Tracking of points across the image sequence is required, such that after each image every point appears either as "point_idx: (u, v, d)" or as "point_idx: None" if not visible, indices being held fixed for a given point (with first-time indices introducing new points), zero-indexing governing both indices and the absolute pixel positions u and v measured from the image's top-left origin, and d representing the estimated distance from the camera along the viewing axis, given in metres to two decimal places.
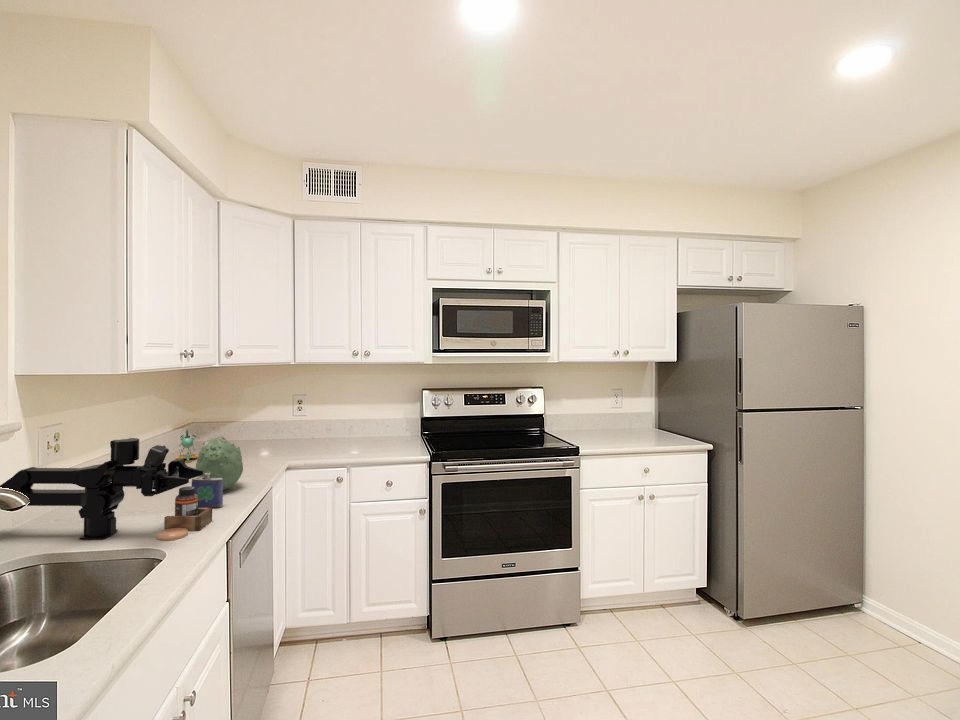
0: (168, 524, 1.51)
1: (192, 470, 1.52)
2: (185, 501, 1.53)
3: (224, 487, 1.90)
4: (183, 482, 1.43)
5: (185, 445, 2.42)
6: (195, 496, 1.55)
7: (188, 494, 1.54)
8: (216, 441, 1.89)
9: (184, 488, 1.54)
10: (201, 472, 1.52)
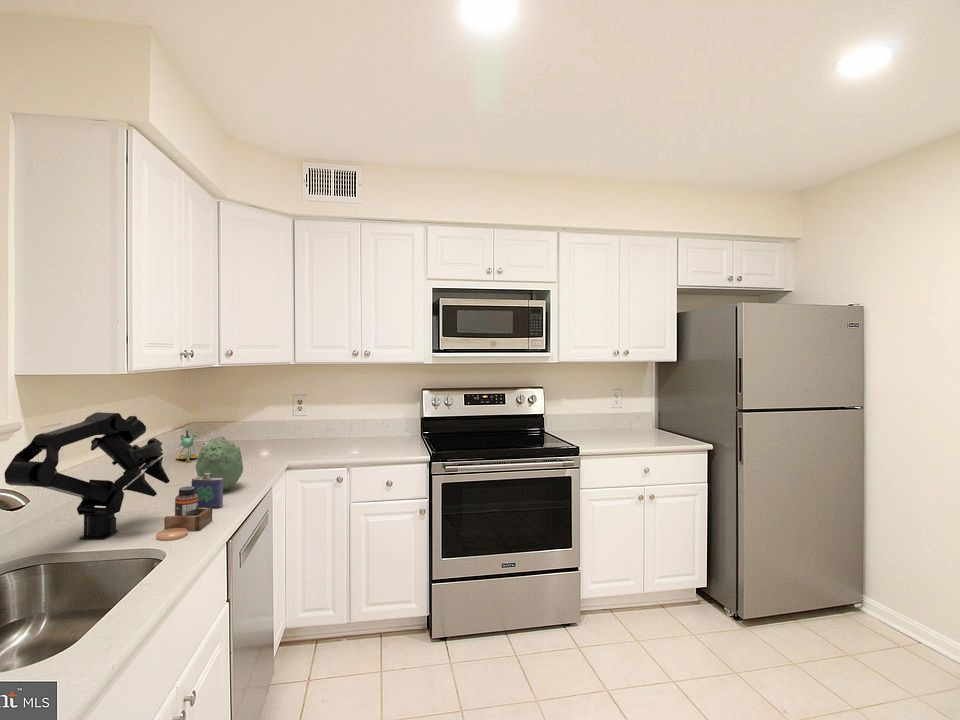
0: (168, 524, 1.51)
1: (162, 474, 1.58)
2: (185, 501, 1.53)
3: (224, 487, 1.90)
4: (151, 494, 1.49)
5: (185, 445, 2.42)
6: (195, 496, 1.55)
7: (188, 494, 1.54)
8: (216, 441, 1.89)
9: (184, 488, 1.54)
10: (167, 481, 1.58)
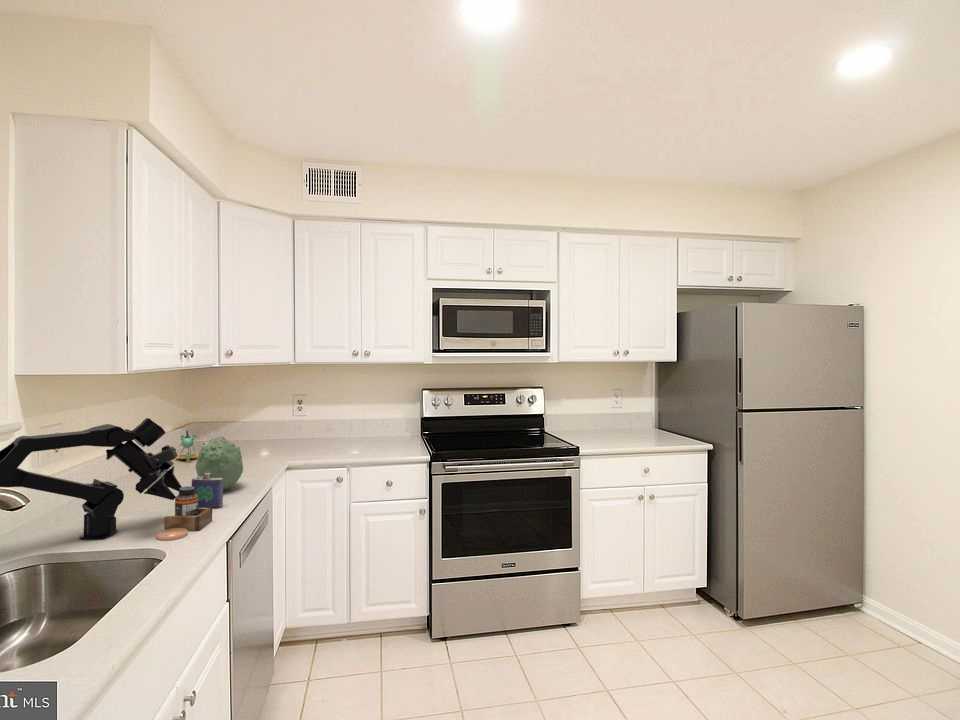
0: (168, 524, 1.51)
1: (175, 482, 1.59)
2: (185, 501, 1.53)
3: (224, 487, 1.90)
4: (170, 497, 1.50)
5: (185, 445, 2.42)
6: (195, 496, 1.55)
7: (188, 494, 1.54)
8: (216, 441, 1.89)
9: (184, 488, 1.54)
10: None
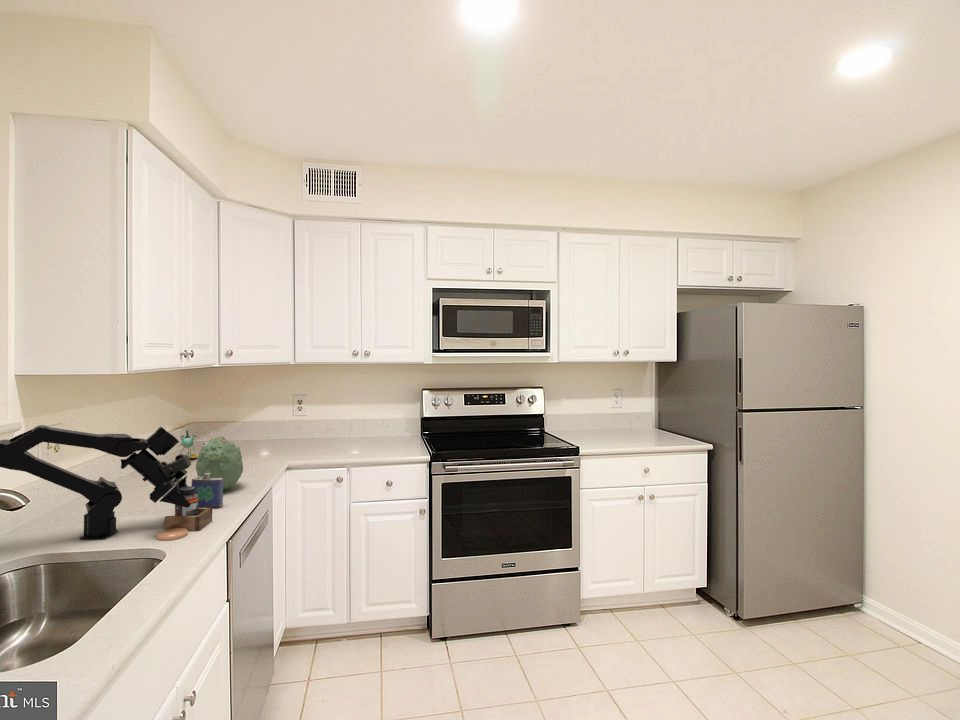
0: (168, 524, 1.51)
1: None
2: None
3: (224, 487, 1.90)
4: (185, 505, 1.52)
5: (185, 445, 2.42)
6: (195, 496, 1.55)
7: (188, 494, 1.54)
8: (216, 441, 1.89)
9: (184, 488, 1.54)
10: None
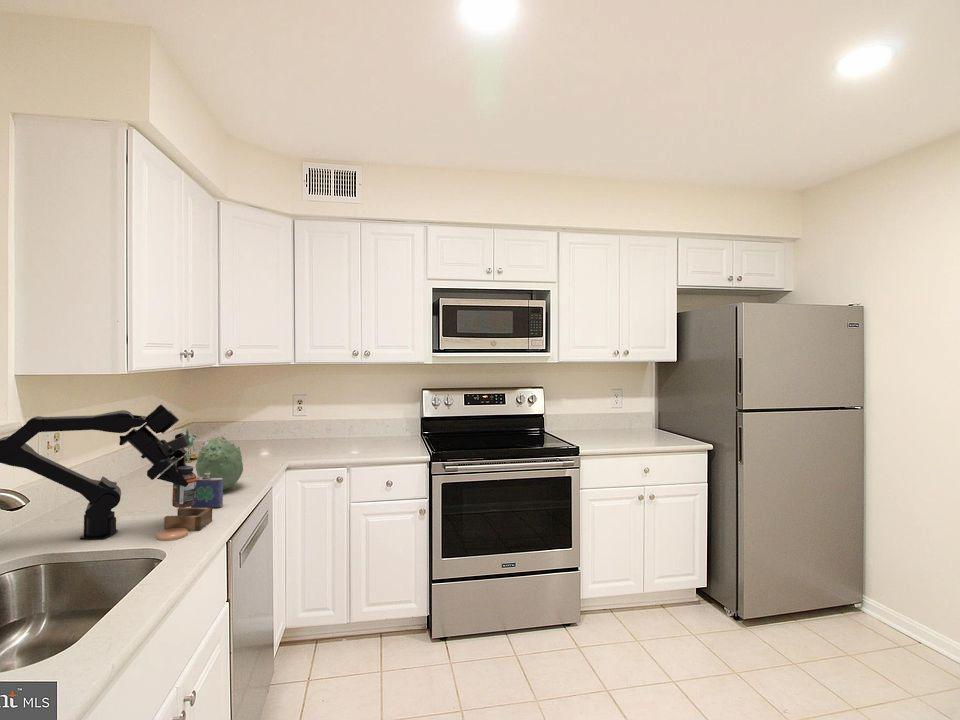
0: (168, 524, 1.51)
1: None
2: None
3: (224, 487, 1.90)
4: (182, 483, 1.50)
5: None
6: (193, 475, 1.53)
7: (186, 473, 1.52)
8: (216, 441, 1.89)
9: (183, 467, 1.53)
10: None
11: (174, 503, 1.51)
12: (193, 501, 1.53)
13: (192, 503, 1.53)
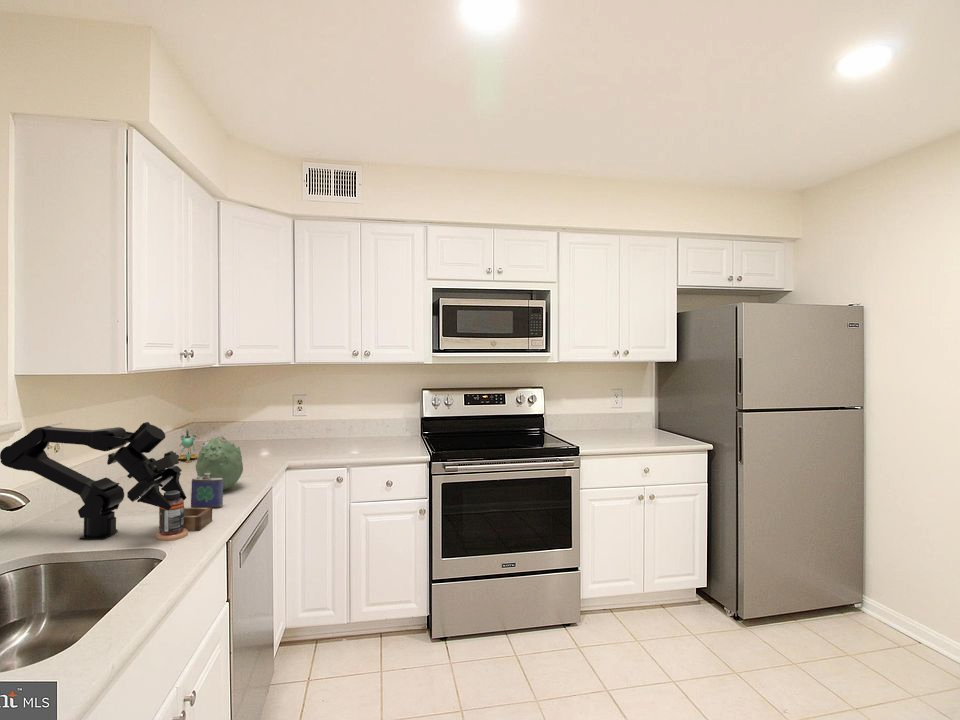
0: None
1: (179, 490, 1.51)
2: None
3: (224, 487, 1.90)
4: (165, 506, 1.42)
5: (185, 445, 2.42)
6: (179, 501, 1.46)
7: (171, 499, 1.45)
8: (216, 441, 1.89)
9: (169, 492, 1.46)
10: (184, 498, 1.51)
11: (160, 530, 1.45)
12: (180, 528, 1.46)
13: (178, 530, 1.46)
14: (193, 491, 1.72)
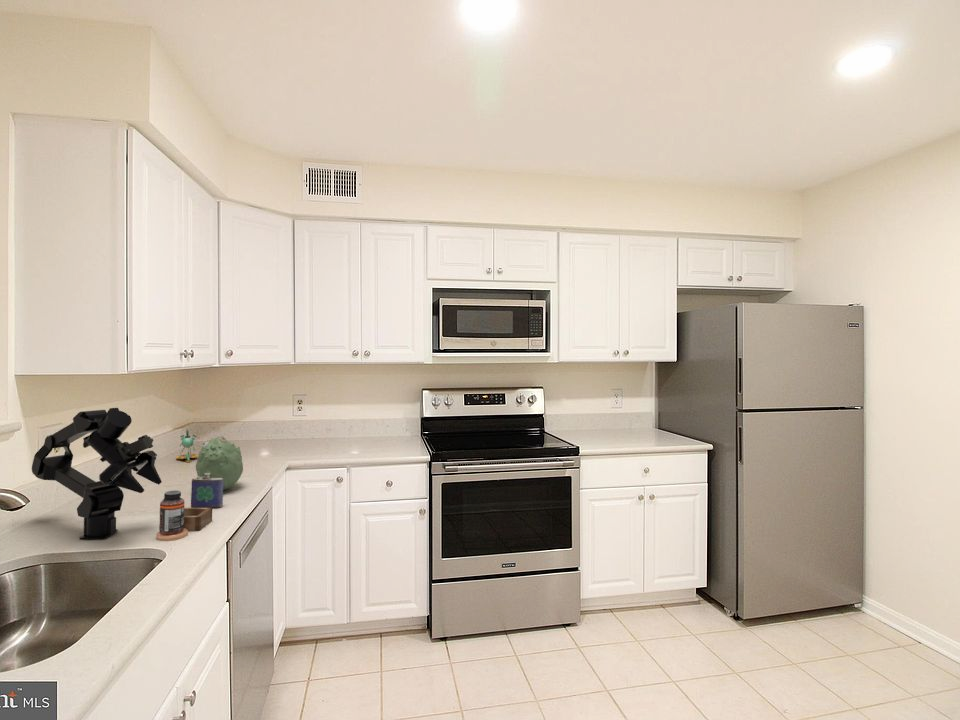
0: None
1: (154, 474, 1.50)
2: (168, 506, 1.44)
3: (224, 487, 1.90)
4: (138, 490, 1.41)
5: (185, 445, 2.42)
6: (180, 501, 1.46)
7: (172, 499, 1.45)
8: (216, 441, 1.89)
9: (169, 492, 1.46)
10: (159, 482, 1.50)
11: (160, 530, 1.45)
12: (180, 528, 1.46)
13: (178, 530, 1.46)
14: (193, 491, 1.72)
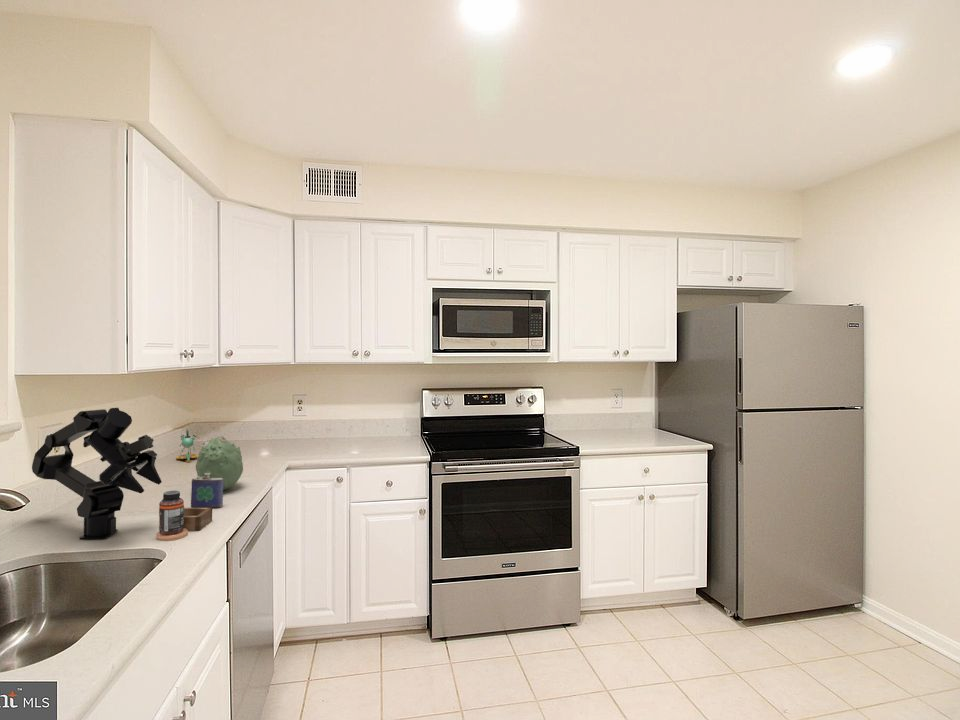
0: None
1: (154, 474, 1.50)
2: (167, 506, 1.44)
3: (224, 487, 1.90)
4: (138, 490, 1.41)
5: (185, 445, 2.42)
6: (179, 501, 1.46)
7: (171, 499, 1.45)
8: (216, 441, 1.89)
9: (168, 492, 1.46)
10: (159, 482, 1.50)
11: (160, 530, 1.45)
12: (179, 528, 1.46)
13: (178, 530, 1.46)
14: (193, 491, 1.72)
